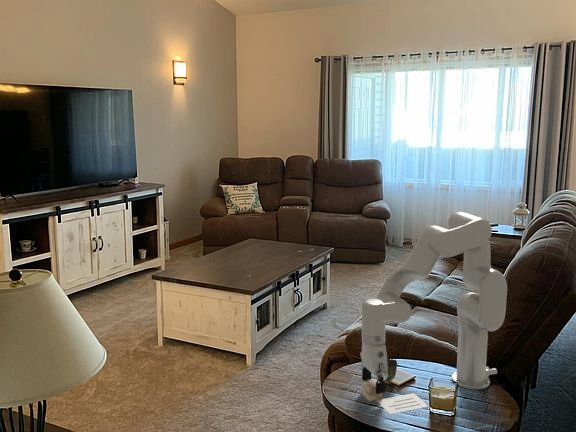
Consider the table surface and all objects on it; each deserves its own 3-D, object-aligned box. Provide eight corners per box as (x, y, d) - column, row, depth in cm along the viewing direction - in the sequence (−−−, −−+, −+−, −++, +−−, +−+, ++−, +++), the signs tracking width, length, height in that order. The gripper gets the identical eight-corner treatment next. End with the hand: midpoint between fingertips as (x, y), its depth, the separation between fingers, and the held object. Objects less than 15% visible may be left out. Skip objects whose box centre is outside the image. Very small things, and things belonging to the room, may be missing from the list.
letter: (413, 393, 192) (413, 393, 192) (428, 407, 183) (428, 406, 183) (376, 401, 187) (376, 400, 187) (389, 414, 179) (389, 414, 179)
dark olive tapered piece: (396, 389, 195) (397, 367, 194) (374, 387, 197) (375, 365, 195) (397, 378, 202) (397, 357, 201) (375, 377, 204) (376, 356, 202)
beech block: (375, 392, 193) (375, 378, 192) (382, 399, 188) (382, 385, 188) (361, 395, 192) (361, 381, 191) (368, 402, 187) (368, 387, 186)
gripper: (397, 345, 179) (396, 396, 183) (371, 326, 195) (371, 373, 199) (375, 349, 177) (375, 400, 180) (351, 329, 193) (351, 376, 196)
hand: (373, 386), depth 189 cm, fingers open, 9 cm apart
